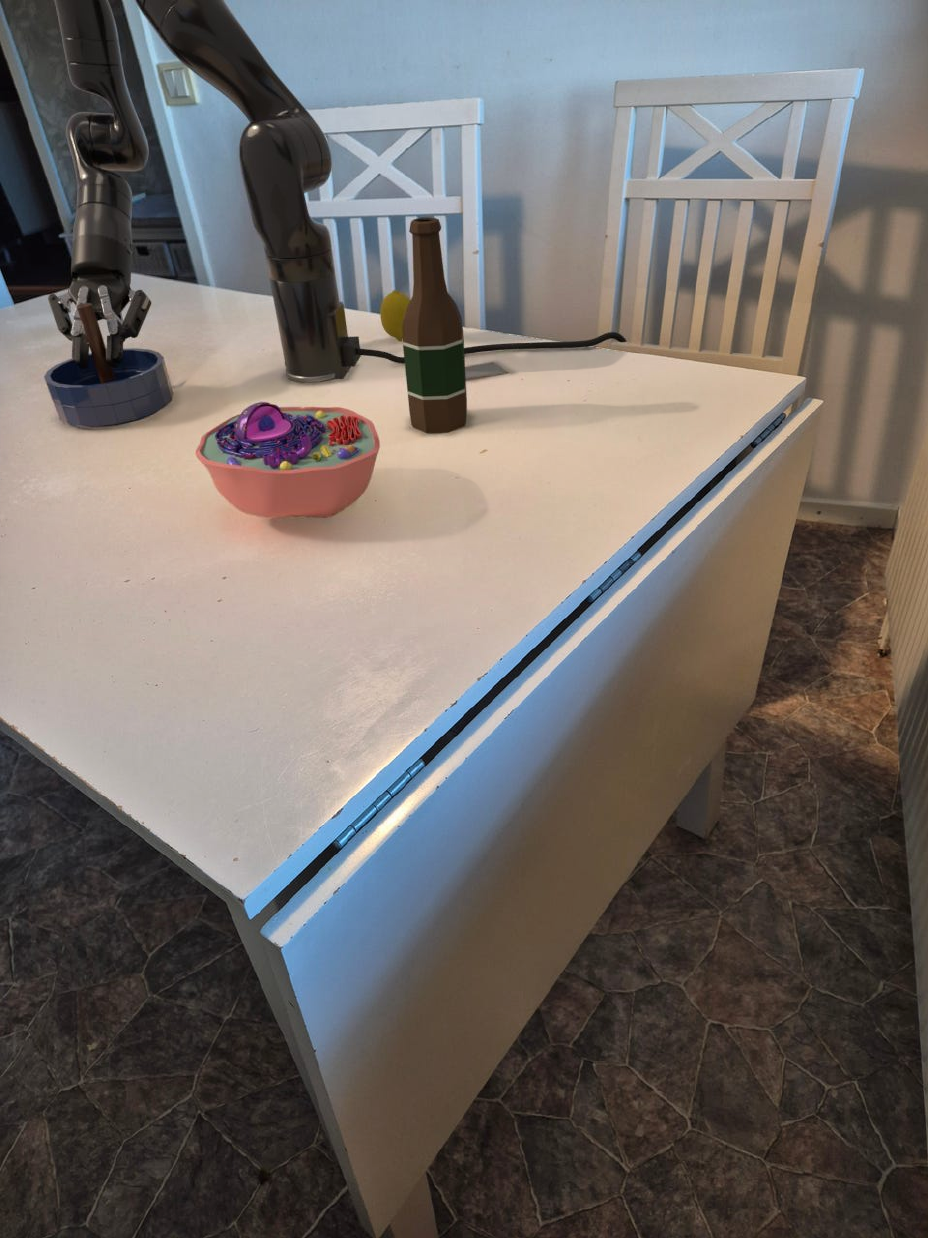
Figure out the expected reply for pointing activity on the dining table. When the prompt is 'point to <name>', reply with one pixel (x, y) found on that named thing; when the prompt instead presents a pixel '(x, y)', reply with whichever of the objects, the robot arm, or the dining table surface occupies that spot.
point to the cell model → (291, 459)
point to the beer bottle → (433, 339)
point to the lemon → (394, 313)
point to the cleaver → (484, 370)
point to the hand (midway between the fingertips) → (97, 364)
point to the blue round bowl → (110, 390)
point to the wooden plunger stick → (95, 342)
